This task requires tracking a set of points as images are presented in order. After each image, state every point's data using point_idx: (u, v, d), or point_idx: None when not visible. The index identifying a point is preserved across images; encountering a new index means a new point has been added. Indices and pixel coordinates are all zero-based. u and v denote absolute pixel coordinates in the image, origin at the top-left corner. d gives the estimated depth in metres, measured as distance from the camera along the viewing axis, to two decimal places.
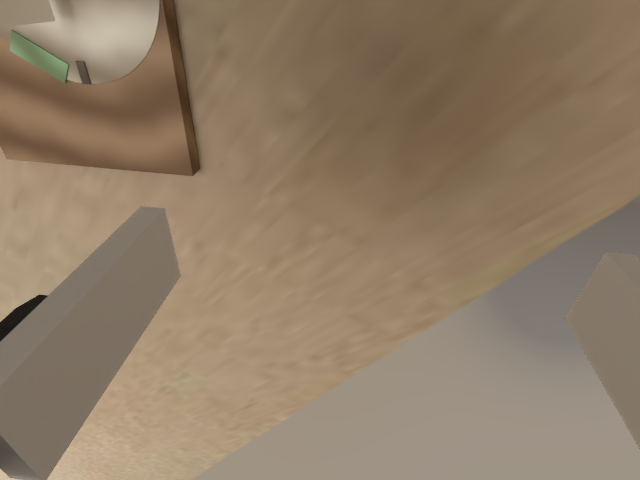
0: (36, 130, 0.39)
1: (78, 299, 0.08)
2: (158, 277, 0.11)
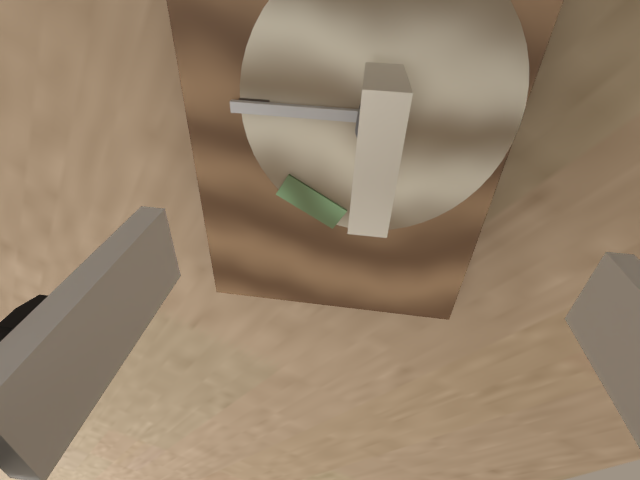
0: (268, 268, 0.33)
1: (78, 299, 0.08)
2: (158, 277, 0.11)
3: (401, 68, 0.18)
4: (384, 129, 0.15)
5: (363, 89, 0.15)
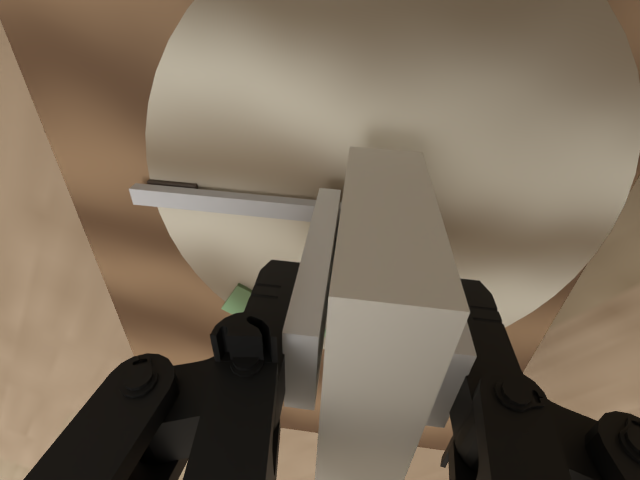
0: None
1: (329, 259, 0.09)
2: None
3: (420, 169, 0.09)
4: (390, 370, 0.06)
5: (332, 294, 0.05)
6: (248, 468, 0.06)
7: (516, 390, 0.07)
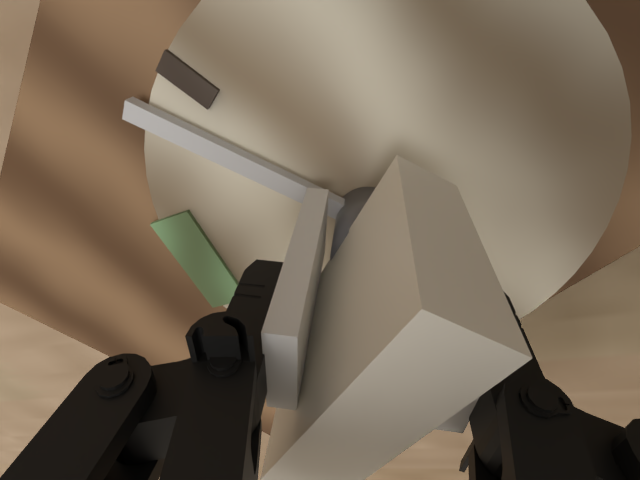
0: (83, 301, 0.20)
1: (312, 259, 0.09)
2: (322, 250, 0.13)
3: (460, 202, 0.10)
4: (425, 386, 0.06)
5: (424, 308, 0.05)
6: (225, 467, 0.05)
7: (542, 396, 0.07)
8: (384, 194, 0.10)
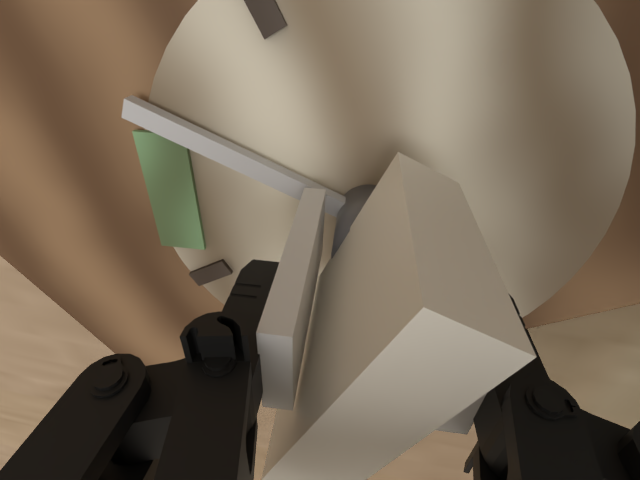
0: None
1: (308, 259, 0.09)
2: (319, 250, 0.13)
3: (462, 199, 0.09)
4: (428, 385, 0.06)
5: (426, 306, 0.05)
6: (220, 467, 0.05)
7: (548, 398, 0.07)
8: (385, 191, 0.10)
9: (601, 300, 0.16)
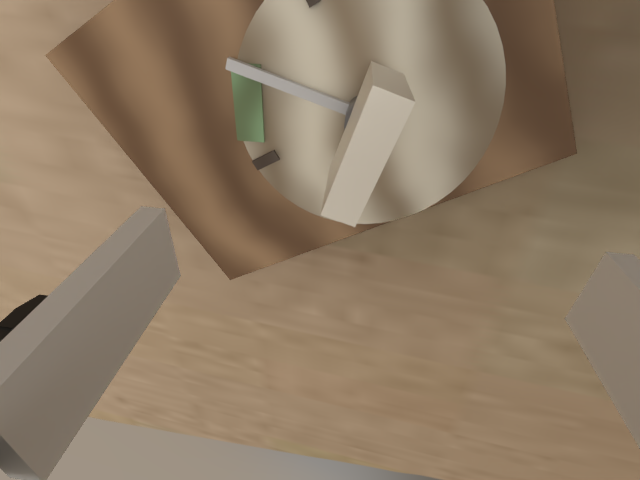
0: (137, 101, 0.26)
1: (78, 299, 0.08)
2: (158, 277, 0.11)
3: (402, 77, 0.20)
4: (382, 127, 0.17)
5: (374, 85, 0.16)
6: None
7: None
8: (366, 78, 0.20)
9: (504, 170, 0.26)
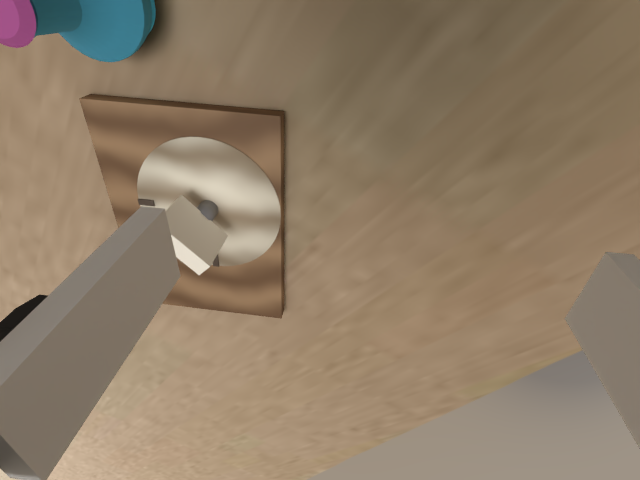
0: None
1: (78, 299, 0.08)
2: (158, 277, 0.11)
3: (176, 200, 0.40)
4: None
5: None
6: None
7: None
8: None
9: (273, 157, 0.41)
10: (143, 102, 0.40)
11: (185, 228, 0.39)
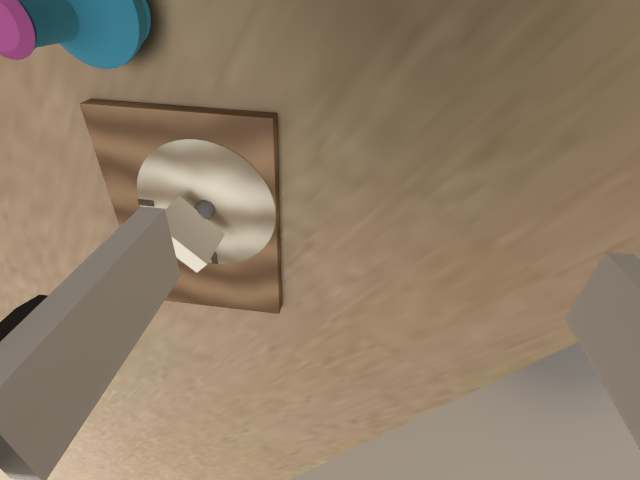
0: None
1: (78, 299, 0.08)
2: (158, 277, 0.11)
3: None
4: None
5: None
6: None
7: None
8: None
9: (267, 158, 0.42)
10: (141, 106, 0.41)
11: (182, 227, 0.41)
